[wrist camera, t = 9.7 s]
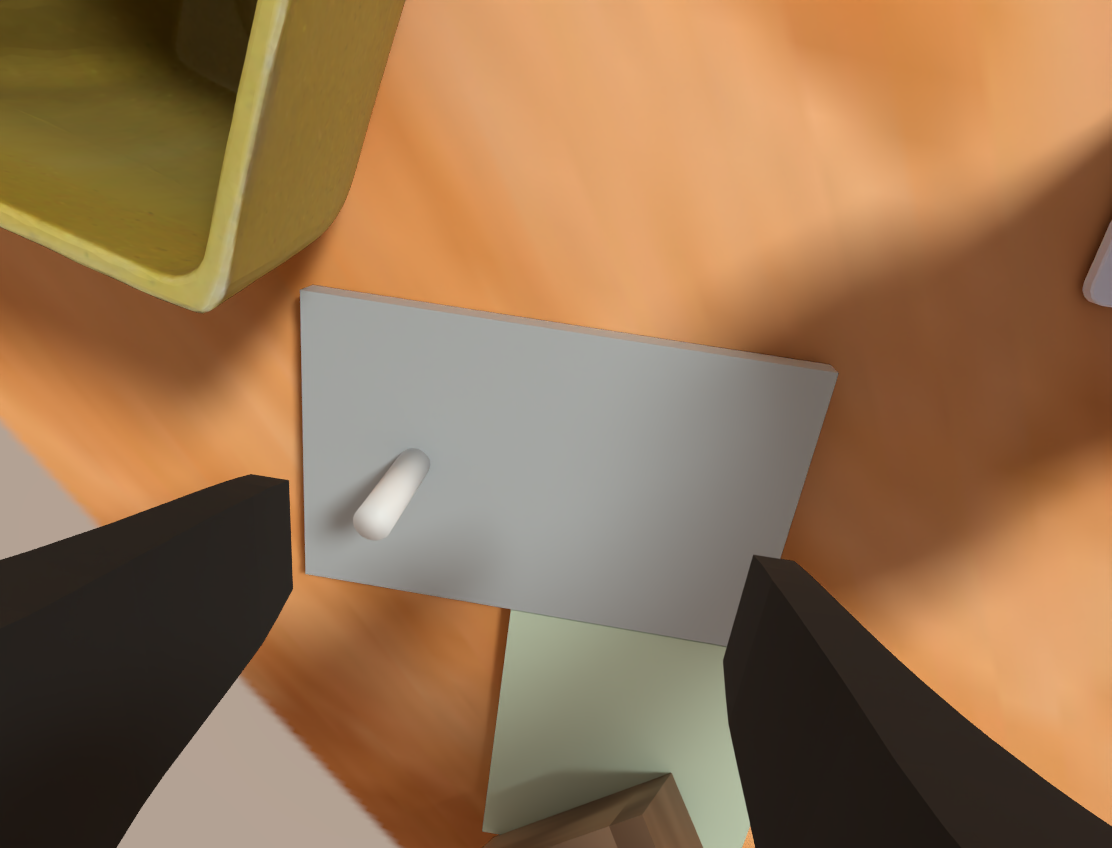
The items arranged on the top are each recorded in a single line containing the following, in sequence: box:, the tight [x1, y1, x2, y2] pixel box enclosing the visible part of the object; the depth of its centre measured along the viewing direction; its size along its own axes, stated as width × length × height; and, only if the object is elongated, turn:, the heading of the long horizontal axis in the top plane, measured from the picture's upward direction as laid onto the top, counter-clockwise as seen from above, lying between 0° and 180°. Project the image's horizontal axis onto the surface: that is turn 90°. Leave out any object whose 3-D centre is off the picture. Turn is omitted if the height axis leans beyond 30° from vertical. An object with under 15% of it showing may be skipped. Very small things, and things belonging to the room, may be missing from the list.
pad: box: [482, 609, 750, 848], centre depth 24 cm, size 10×11×1 cm
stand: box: [300, 285, 839, 646], centre depth 18 cm, size 15×10×4 cm, turn 82°
